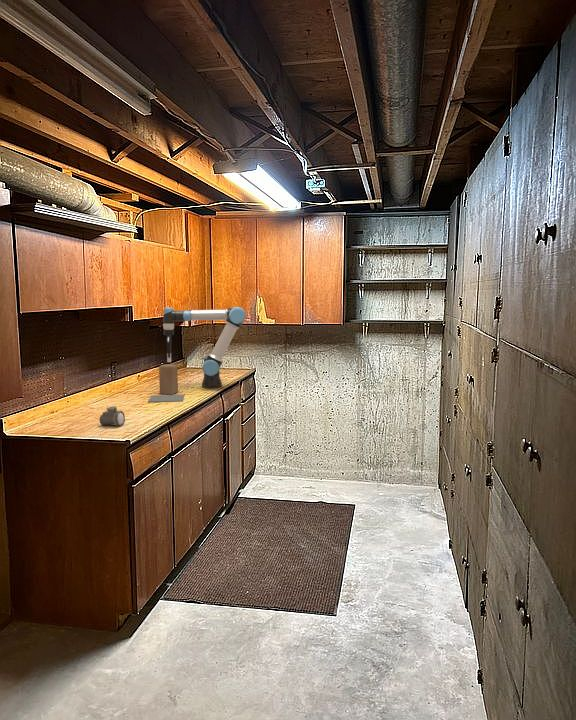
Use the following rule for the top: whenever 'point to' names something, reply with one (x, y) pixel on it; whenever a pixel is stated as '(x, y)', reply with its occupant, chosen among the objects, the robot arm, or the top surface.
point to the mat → (166, 398)
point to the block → (168, 379)
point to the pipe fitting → (112, 417)
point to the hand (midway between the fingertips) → (169, 361)
